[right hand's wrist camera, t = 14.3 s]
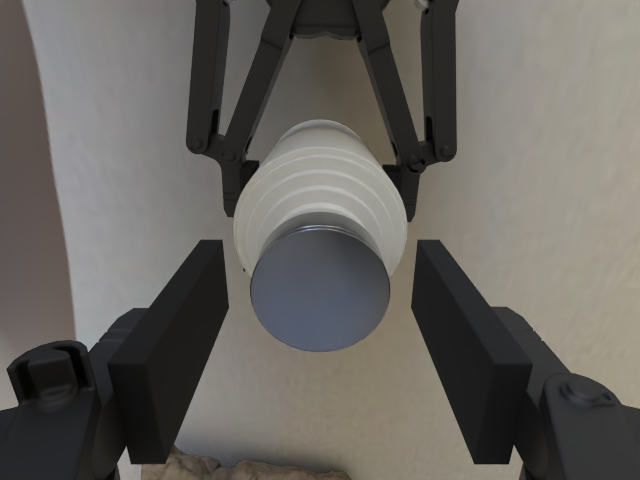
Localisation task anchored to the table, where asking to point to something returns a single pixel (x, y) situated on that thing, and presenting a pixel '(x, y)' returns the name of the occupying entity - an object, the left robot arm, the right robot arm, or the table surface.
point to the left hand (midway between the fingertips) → (317, 264)
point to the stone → (227, 470)
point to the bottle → (320, 190)
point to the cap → (320, 282)
